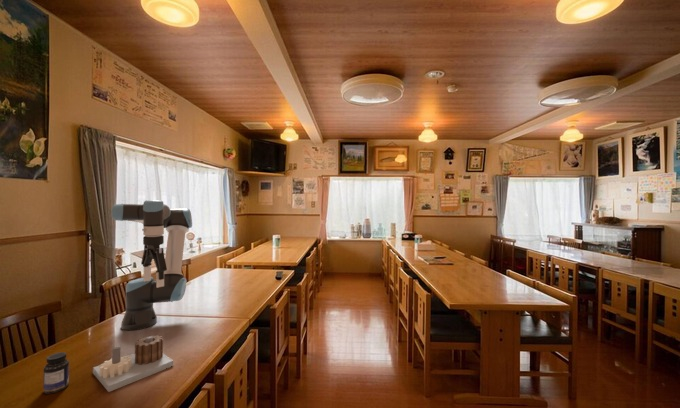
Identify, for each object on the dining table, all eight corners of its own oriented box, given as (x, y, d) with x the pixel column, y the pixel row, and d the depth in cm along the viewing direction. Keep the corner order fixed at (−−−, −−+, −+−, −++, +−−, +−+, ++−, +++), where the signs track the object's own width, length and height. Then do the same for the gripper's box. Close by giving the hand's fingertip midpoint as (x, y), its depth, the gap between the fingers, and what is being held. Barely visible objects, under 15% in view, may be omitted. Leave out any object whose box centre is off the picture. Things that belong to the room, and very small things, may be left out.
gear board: (92, 373, 107) (93, 345, 107) (153, 351, 123) (154, 327, 123) (108, 392, 96) (108, 361, 96) (173, 365, 112) (173, 339, 112)
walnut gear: (131, 359, 113) (131, 341, 113) (157, 350, 120) (157, 333, 120) (139, 367, 107) (140, 348, 107) (166, 357, 114) (166, 339, 114)
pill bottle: (54, 383, 100) (55, 351, 101) (73, 382, 101) (74, 350, 101) (37, 395, 94) (38, 360, 94) (58, 394, 95) (58, 359, 95)
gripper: (132, 233, 133) (132, 280, 133) (156, 239, 118) (156, 291, 118) (151, 232, 139) (151, 276, 139) (175, 237, 124) (175, 287, 124)
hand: (153, 283), depth 129 cm, fingers open, 13 cm apart
